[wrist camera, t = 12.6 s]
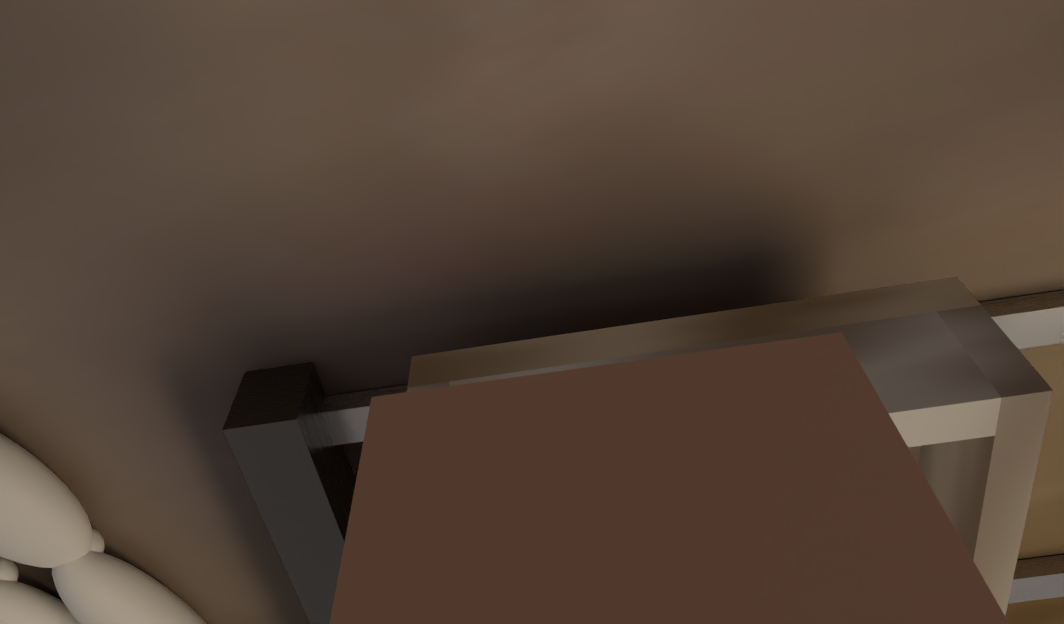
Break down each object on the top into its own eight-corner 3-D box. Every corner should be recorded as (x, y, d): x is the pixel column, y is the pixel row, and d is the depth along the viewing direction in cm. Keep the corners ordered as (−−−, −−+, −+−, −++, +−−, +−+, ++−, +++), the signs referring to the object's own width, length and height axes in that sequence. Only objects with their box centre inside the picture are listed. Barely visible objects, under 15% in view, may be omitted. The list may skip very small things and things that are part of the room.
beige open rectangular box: (924, 239, 18) (1053, 390, 14) (881, 671, 26) (955, 850, 22) (417, 314, 19) (394, 481, 15) (525, 715, 27) (530, 897, 23)
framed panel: (1511, 187, 19) (1611, 231, 17) (1324, 567, 25) (1382, 626, 24) (244, 372, 20) (222, 430, 19) (375, 686, 27) (367, 749, 25)
